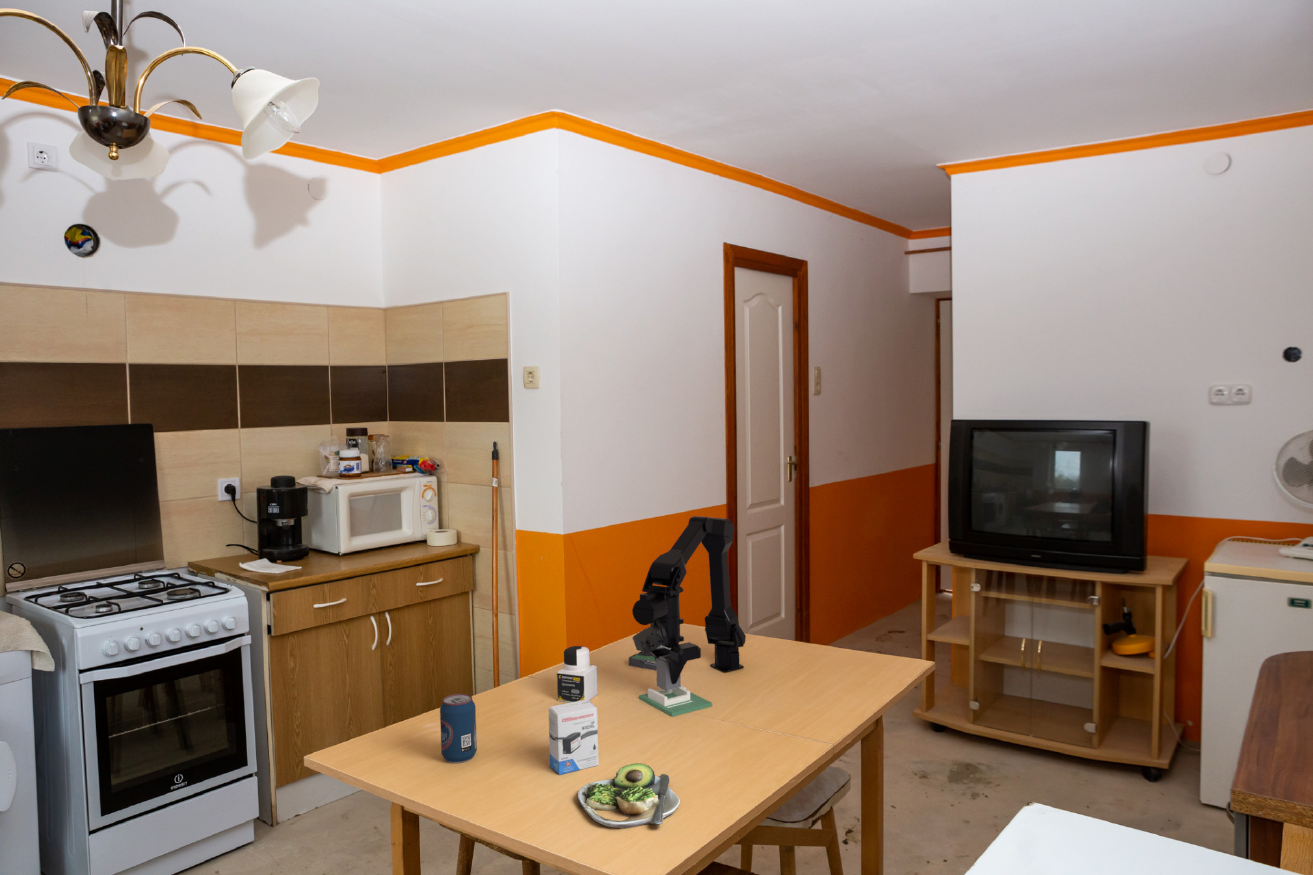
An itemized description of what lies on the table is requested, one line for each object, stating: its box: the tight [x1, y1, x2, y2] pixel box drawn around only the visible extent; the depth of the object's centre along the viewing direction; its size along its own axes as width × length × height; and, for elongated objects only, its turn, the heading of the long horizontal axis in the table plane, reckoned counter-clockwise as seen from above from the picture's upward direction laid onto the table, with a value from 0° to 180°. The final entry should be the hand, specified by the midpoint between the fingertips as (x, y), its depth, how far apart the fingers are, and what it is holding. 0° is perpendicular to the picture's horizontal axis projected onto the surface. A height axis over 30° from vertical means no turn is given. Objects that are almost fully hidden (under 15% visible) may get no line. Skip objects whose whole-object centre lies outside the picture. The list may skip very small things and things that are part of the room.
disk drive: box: [628, 651, 657, 672], centre depth 235 cm, size 10×3×15 cm
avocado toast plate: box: [577, 762, 681, 829], centre depth 153 cm, size 19×18×5 cm
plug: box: [656, 654, 682, 690], centre depth 204 cm, size 4×4×7 cm
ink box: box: [548, 700, 600, 776], centre depth 170 cm, size 8×5×12 cm, turn 117°
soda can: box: [439, 693, 478, 764], centre depth 175 cm, size 7×7×12 cm
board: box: [638, 685, 713, 718], centre depth 204 cm, size 14×11×3 cm
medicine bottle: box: [556, 645, 598, 703], centre depth 208 cm, size 7×7×12 cm
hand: (668, 680), depth 204 cm, fingers closed on plug, 4 cm apart
